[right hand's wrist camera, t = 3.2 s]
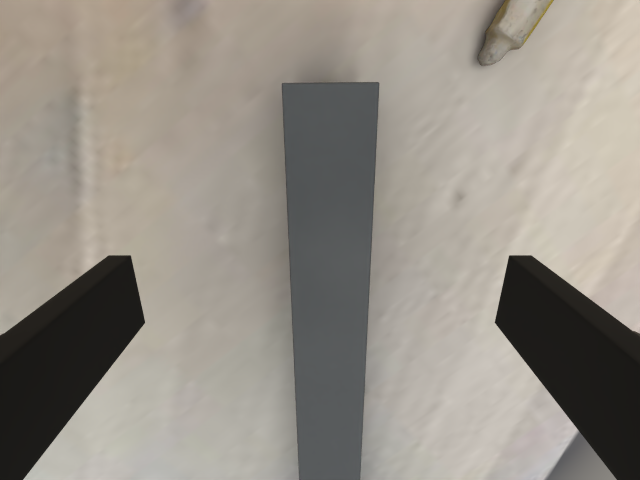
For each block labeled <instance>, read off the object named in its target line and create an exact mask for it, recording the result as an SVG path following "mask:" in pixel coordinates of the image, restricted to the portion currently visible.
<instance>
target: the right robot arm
mask: <svg viewBox="0 0 640 480" xmlns="http://www.w3.org/2000/svg"><path fill="white" fill-rule="evenodd" d="M144 323H145V320H144V315H143V310H142V306H141V301H140V296H139V292H138V287H137V282H136V278H135V273H134V268H133V264H132V259H131V256H107V257H106V258H105V259H103V260H102V261H101V262H99V263H98V264H97V265H95V266H94V267H93V268H91V269H90V270H89V271H87V272H86V273H85V274H83V275H82V276H81V277H79V278H78V279H77V280H75V281H74V282H73V283H71V284H70V285H69V286H67V287H66V288H65V289H63V290H62V291H61V292H59V293H58V294H56V295H55V296H54V297H52V298H51V299H50V300H48V301H47V302H46V303H44V304H43V305H42V306H40V307H39V308H38V309H36V310H35V311H34V312H32V313H31V314H30V315H28V316H27V317H26V318H24V319H23V320H22V321H20V322H19V323H18V324H16V325H15V326H14V327H12V328H11V329H10V330H8V331H7V332H6V333H4V334H2V335H0V480H23V479H24V478H25V476H26V475H27V474H28V473H29V471H30V470H31V469H32V467H33V466H34V465H35V464H36V462H37V461H38V460H39V458H40V457H41V456H42V455H43V453H44V452H45V451H46V449H47V448H48V447H49V446H50V444H51V443H52V442H53V440H54V439H55V438H56V437H57V435H58V434H59V433H60V431H61V430H62V429H63V428H64V426H65V425H66V424H67V422H68V421H69V420H70V419H71V417H72V416H73V415H74V413H75V412H76V411H77V410H78V408H79V407H80V406H81V404H82V403H83V402H84V401H85V399H86V398H87V397H88V395H89V394H90V393H91V392H92V390H93V389H94V388H95V386H96V385H97V384H98V383H99V381H100V380H101V379H102V377H103V376H104V375H105V374H106V372H107V371H108V370H109V368H110V367H111V366H112V365H113V363H114V362H115V361H116V359H117V358H118V357H119V356H120V354H121V353H122V352H123V350H124V349H125V348H126V347H127V345H128V344H129V343H130V341H131V340H132V339H133V338H134V336H135V335H136V334H137V332H138V331H139V330H140V329H141V327H142V326H143V325H144ZM495 323H496V325H497V326H498V327H499V329H500V330H501V331H502V332H503V334H504V335H505V336H506V338H507V339H508V340H509V341H510V343H511V344H512V345H513V347H514V348H515V349H516V350H517V352H518V353H519V354H520V356H521V357H522V358H523V359H524V361H525V362H526V363H527V365H528V366H529V367H530V368H531V370H532V371H533V372H534V374H535V375H536V376H537V377H538V379H539V380H540V381H541V383H542V384H543V385H544V386H545V388H546V389H547V390H548V392H549V393H550V394H551V395H552V397H553V398H554V399H555V401H556V402H557V403H558V404H559V406H560V407H561V408H562V410H563V411H564V412H565V413H566V415H567V416H568V417H569V419H570V420H571V421H572V422H573V424H574V425H575V426H576V428H577V429H578V430H579V431H580V433H581V434H582V435H583V437H584V438H585V439H586V440H587V442H588V443H589V444H590V446H591V447H592V448H593V449H594V451H595V452H596V453H597V455H598V456H599V457H600V458H601V460H602V461H603V462H604V464H605V465H606V466H607V467H608V469H609V470H610V471H611V473H612V474H613V475H614V476H615V478H616V479H617V480H640V334H639V333H637V332H635V331H632V330H630V329H629V328H628V327H626V326H625V325H624V324H622V323H621V322H620V321H618V320H617V319H616V318H614V317H613V316H612V315H610V314H609V313H608V312H606V311H605V310H604V309H602V308H601V307H600V306H598V305H597V304H596V303H594V302H593V301H592V300H590V299H589V298H588V297H586V296H585V295H584V294H582V293H581V292H579V291H578V290H577V289H575V288H574V287H573V286H571V285H570V284H569V283H567V282H566V281H565V280H563V279H562V278H561V277H559V276H558V275H557V274H555V273H554V272H553V271H551V270H550V269H549V268H547V267H546V266H545V265H543V264H542V263H541V262H539V261H538V260H537V259H535V258H534V257H533V256H509V259H508V264H507V268H506V273H505V278H504V282H503V287H502V292H501V296H500V301H499V306H498V310H497V315H496V320H495Z"/></svg>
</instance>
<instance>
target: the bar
mask: <svg viewBox="0 0 640 480" xmlns="http://www.w3.org/2000/svg"><path fill="white" fill-rule="evenodd" d="M378 98H379V82H352V83H282V99H283V121H284V144H285V167H286V189H287V212H288V235H289V257H290V280H291V303H292V325H293V348H294V371H295V393H296V416H297V439H298V461H299V480H360V470H361V449H362V429H363V408H364V387H365V367H366V346H367V326H368V305H369V284H370V264H371V243H372V222H373V202H374V181H375V160H376V140H377V119H378Z"/></svg>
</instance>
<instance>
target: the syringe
mask: <svg viewBox="0 0 640 480" xmlns="http://www.w3.org/2000/svg"><path fill="white" fill-rule="evenodd" d="M552 2H553V0H505V1H504V3H503V5H502V7H501V8H500V9H499V11H498V12H497V14H496V16H495V18H494V20H493V22H492V24H491V25H490V27H489V28H488V29H487V30H486V32H485V34H486V39H485V43H484V46H483V48H482V49H481V51H480V53H479V55H478V61H479V63H480V65H481V66H487V65H492V64H494V63H496V62H498V61H500V60H501V59H502V58H503V56H504V55H505V54H506V52H508V51H509V50H515V49H519V48H521V47H522V46H523V44H524V43H525V41H526V40H527V39H528V37H529V36H530V34H531V33H532V32H533V30H534V29H535V27H536V26H537V24H538V23H539V21H540V20H541V18H542V17H543V15H544V14H545V12H546V11H547V9H548V8H549V6H550V5H551V3H552Z"/></svg>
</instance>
